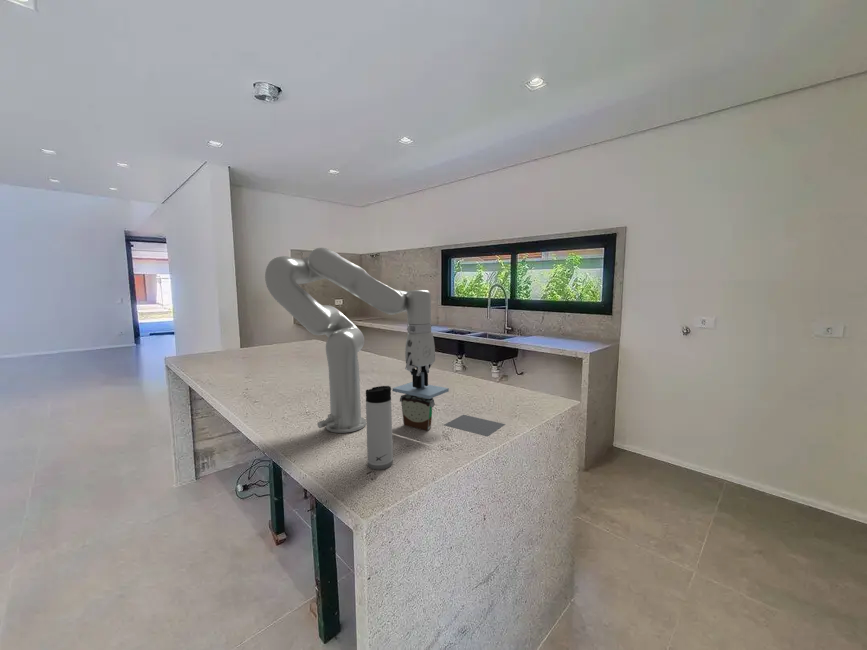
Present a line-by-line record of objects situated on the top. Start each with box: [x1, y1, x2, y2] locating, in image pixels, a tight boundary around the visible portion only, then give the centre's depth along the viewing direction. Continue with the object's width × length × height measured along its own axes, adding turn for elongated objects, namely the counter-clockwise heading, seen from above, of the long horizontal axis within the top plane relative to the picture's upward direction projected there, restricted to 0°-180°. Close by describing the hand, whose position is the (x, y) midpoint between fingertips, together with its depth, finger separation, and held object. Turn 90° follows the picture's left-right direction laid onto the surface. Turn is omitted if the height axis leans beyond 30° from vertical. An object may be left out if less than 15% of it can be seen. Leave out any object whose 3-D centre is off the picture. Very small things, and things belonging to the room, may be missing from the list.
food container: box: [399, 394, 436, 432], centre depth 115 cm, size 12×6×10 cm, turn 58°
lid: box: [392, 372, 450, 399], centre depth 114 cm, size 10×15×6 cm, turn 53°
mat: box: [443, 414, 506, 437], centre depth 115 cm, size 12×16×1 cm
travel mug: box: [365, 385, 394, 471], centre depth 89 cm, size 6×7×20 cm
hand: (420, 386), depth 114 cm, fingers closed on lid, 2 cm apart
